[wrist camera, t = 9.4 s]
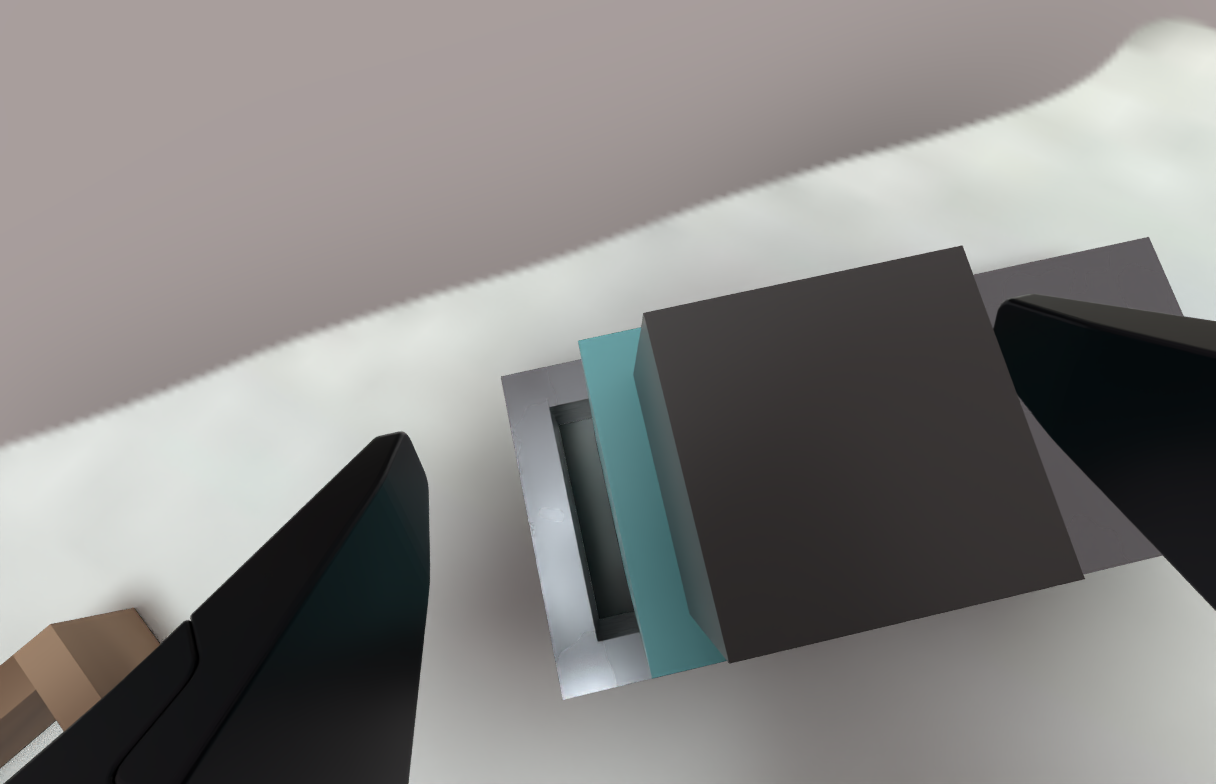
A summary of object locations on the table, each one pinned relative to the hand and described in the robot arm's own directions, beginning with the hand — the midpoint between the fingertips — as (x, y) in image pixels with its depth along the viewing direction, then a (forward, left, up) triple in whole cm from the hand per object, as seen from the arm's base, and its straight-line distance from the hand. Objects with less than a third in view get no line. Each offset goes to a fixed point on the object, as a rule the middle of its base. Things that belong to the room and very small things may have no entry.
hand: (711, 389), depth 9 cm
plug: (-1, -1, -9) cm, 9 cm away
